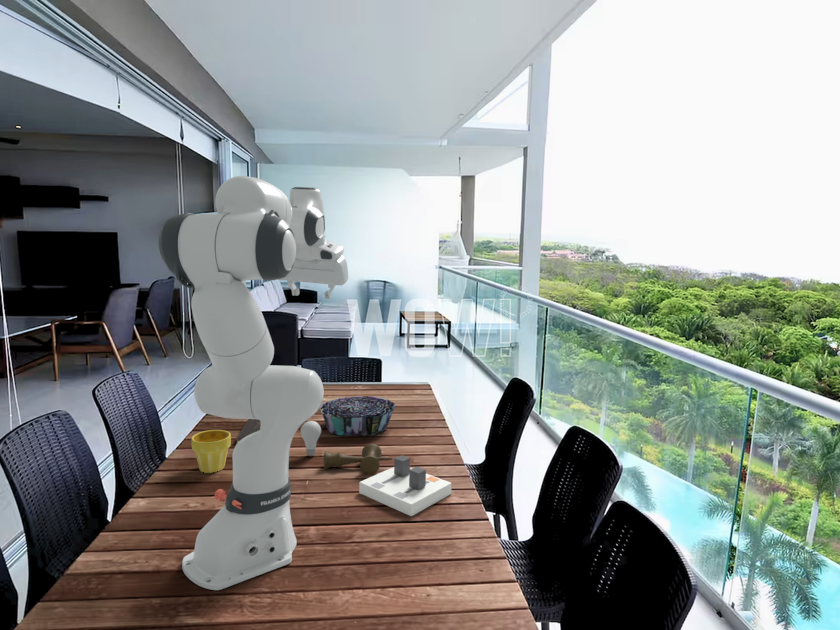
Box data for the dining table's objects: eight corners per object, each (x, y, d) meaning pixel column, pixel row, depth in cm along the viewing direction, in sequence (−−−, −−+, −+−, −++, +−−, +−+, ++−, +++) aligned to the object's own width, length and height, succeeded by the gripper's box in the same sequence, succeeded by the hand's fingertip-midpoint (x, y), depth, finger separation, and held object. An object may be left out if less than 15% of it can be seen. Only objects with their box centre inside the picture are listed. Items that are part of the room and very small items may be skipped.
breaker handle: (402, 477, 137) (402, 461, 136) (394, 473, 139) (394, 458, 138) (409, 473, 139) (410, 458, 139) (401, 470, 141) (401, 455, 141)
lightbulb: (316, 460, 154) (316, 425, 153) (297, 458, 156) (297, 423, 154) (324, 453, 160) (324, 419, 159) (305, 451, 161) (305, 417, 160)
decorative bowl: (403, 440, 178) (406, 412, 178) (324, 443, 168) (327, 414, 167) (381, 418, 202) (383, 393, 201) (311, 420, 192) (313, 394, 191)
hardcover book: (235, 446, 166) (235, 439, 165) (249, 423, 188) (249, 417, 188) (286, 445, 168) (286, 438, 168) (293, 422, 191) (293, 416, 190)
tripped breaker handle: (418, 490, 130) (418, 473, 129) (409, 486, 131) (409, 470, 131) (425, 486, 132) (425, 469, 131) (416, 482, 134) (417, 466, 133)
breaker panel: (411, 516, 123) (411, 504, 122) (359, 493, 134) (359, 481, 134) (451, 493, 135) (451, 482, 135) (400, 474, 146) (400, 463, 146)
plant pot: (211, 479, 140) (210, 444, 139) (184, 471, 145) (183, 438, 143) (239, 465, 150) (238, 433, 149) (212, 459, 154) (212, 427, 153)
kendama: (326, 463, 155) (393, 461, 155) (321, 477, 145) (392, 475, 146) (325, 443, 154) (392, 442, 154) (320, 457, 144) (392, 455, 145)
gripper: (266, 248, 135) (271, 297, 140) (341, 254, 131) (343, 304, 137) (277, 241, 140) (281, 288, 146) (349, 247, 137) (350, 295, 143)
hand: (312, 296), depth 142 cm, fingers open, 8 cm apart
